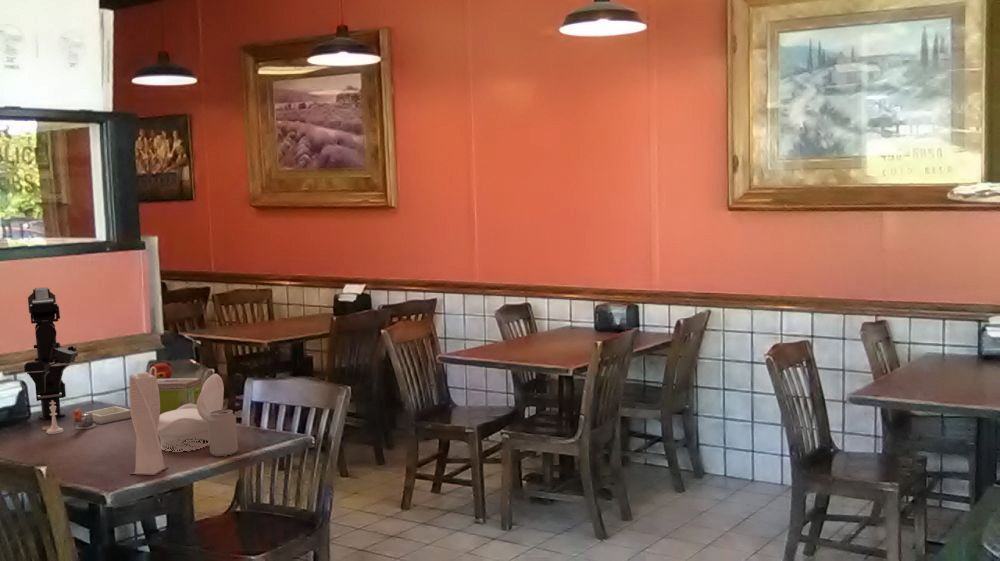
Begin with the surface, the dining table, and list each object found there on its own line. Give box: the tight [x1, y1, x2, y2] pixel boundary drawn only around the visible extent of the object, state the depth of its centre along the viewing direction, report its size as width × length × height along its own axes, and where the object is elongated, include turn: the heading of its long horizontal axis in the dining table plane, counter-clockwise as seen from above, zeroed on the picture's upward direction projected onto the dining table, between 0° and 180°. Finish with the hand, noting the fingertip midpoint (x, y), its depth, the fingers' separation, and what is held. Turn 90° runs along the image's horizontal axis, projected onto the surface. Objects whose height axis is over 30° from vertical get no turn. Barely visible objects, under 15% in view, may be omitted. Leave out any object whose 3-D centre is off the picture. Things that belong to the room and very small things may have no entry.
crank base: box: [74, 422, 98, 430], centre depth 329 cm, size 6×6×1 cm
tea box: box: [157, 377, 203, 415], centre depth 323 cm, size 15×10×15 cm, turn 80°
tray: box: [84, 405, 132, 425], centre depth 339 cm, size 11×11×2 cm
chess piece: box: [46, 400, 64, 435], centre depth 323 cm, size 5×5×10 cm
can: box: [208, 409, 239, 457], centre depth 288 cm, size 8×8×12 cm
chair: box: [157, 373, 225, 453], centre depth 299 cm, size 20×20×20 cm
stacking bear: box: [149, 362, 173, 379], centre depth 338 cm, size 11×10×18 cm
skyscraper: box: [128, 367, 169, 476], centre depth 271 cm, size 8×8×28 cm
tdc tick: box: [41, 425, 52, 431], centre depth 327 cm, size 3×1×1 cm, turn 97°
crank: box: [72, 407, 94, 427], centre depth 324 cm, size 12×4×7 cm, turn 7°
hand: (50, 390), depth 322 cm, fingers open, 9 cm apart
